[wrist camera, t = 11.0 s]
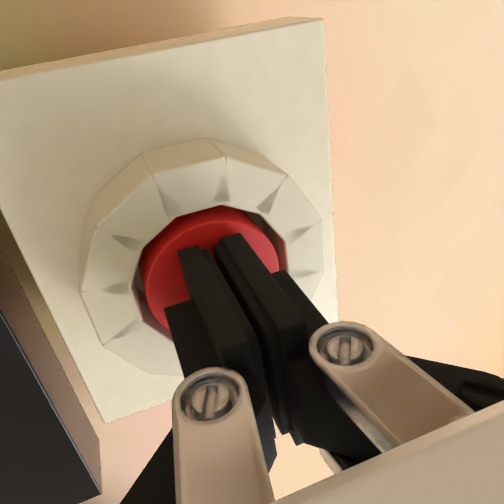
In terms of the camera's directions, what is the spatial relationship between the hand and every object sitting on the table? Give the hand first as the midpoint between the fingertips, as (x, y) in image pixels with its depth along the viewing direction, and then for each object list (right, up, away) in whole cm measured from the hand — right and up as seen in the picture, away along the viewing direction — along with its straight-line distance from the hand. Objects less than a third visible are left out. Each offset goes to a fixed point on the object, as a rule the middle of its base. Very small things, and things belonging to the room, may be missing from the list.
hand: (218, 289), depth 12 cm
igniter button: (-1, +1, +1) cm, 2 cm away
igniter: (-1, +2, +3) cm, 4 cm away
